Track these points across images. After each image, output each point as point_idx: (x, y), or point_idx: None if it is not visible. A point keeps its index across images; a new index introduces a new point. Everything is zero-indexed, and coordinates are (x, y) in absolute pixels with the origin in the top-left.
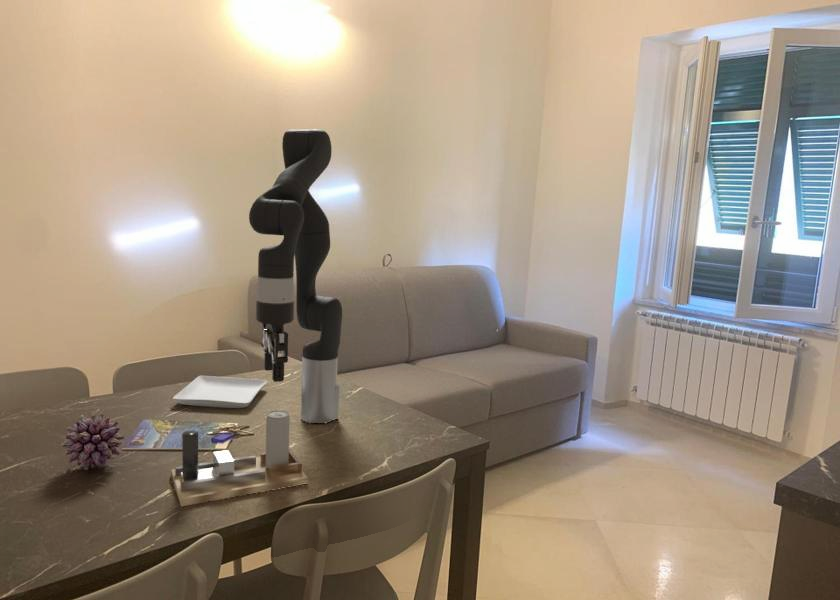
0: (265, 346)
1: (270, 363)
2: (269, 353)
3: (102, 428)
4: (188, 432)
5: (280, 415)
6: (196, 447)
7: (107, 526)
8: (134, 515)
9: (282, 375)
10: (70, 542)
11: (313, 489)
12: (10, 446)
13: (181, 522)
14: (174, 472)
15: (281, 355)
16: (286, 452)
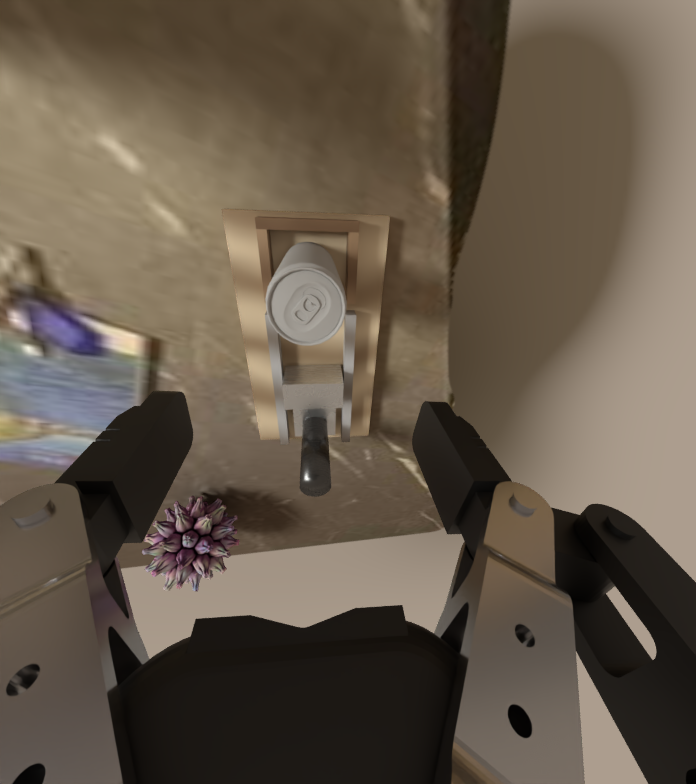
0: (138, 632)
1: (169, 444)
2: (128, 519)
3: (195, 555)
4: (308, 488)
5: (319, 303)
6: (326, 458)
7: (376, 487)
8: (364, 468)
9: (475, 434)
10: (392, 508)
11: (413, 211)
12: (122, 566)
13: (408, 430)
14: (273, 436)
15: (478, 547)
16: (332, 260)
